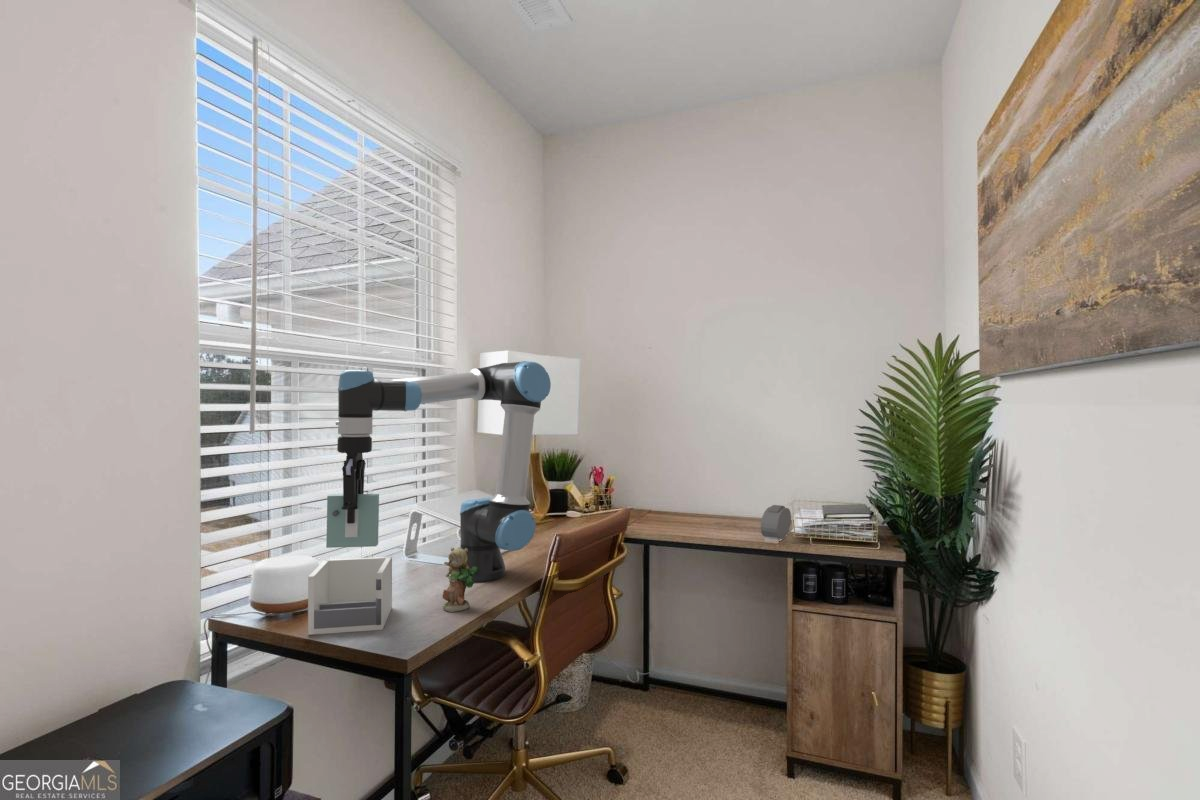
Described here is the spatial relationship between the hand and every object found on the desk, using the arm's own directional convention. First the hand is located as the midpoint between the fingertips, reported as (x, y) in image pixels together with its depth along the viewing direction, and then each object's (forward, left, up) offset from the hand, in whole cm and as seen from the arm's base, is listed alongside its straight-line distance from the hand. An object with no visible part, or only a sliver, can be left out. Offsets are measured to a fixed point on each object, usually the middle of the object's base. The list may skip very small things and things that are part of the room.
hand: (353, 535), depth 140 cm
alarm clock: (-140, -61, -22) cm, 155 cm away
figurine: (-24, -7, -22) cm, 33 cm away
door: (0, 0, -3) cm, 3 cm away
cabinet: (+1, -3, -21) cm, 22 cm away
